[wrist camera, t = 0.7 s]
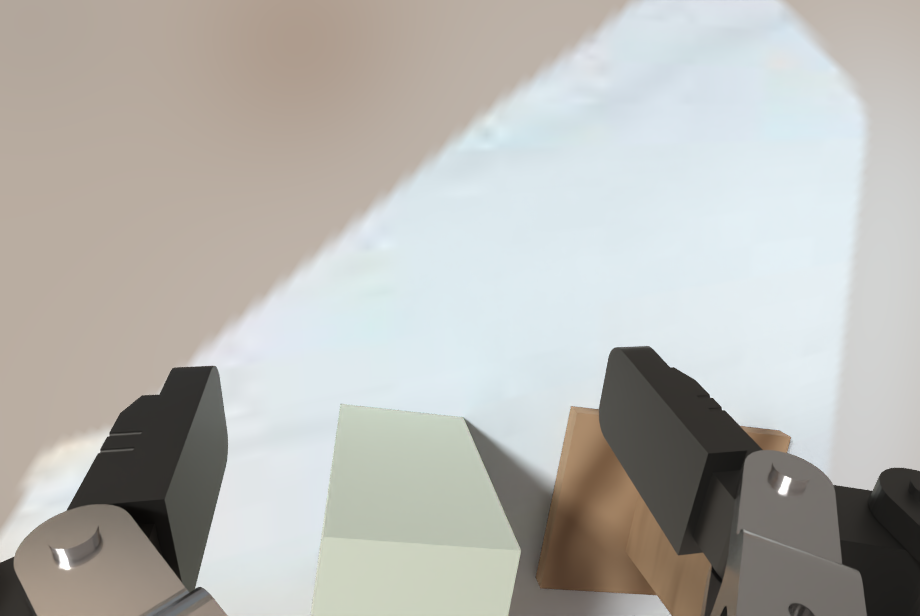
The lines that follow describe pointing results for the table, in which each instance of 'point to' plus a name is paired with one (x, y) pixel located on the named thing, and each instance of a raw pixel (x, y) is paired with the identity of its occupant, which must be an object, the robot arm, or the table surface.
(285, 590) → the table surface
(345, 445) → the pedestal
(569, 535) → the stand
